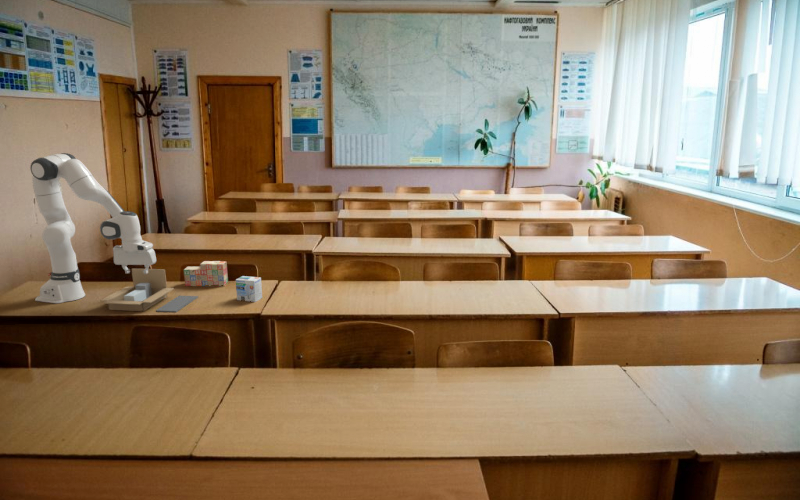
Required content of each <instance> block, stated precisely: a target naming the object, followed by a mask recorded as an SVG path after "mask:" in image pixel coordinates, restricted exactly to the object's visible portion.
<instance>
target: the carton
mask: <svg viewBox="0 0 800 500" xmlns="http://www.w3.org/2000/svg"><path fill="white" fill-rule="evenodd" d="M143 270H145V268H131V277H132V282H133V286H125V287H122V288H121V289H119V290H116V291H115V292H113V293H111V294H109V295H107V296H106V297H104V298H102V299H100V300H99V302H103V304H104V305H106V304H107V305H108V306H107V307H108V310H109V311H112V310H113V311H130V312H131V311H134V312H137V311H138V312H145V311H146V310H148V309H149V308H151V307H153V306H155V305H157V304H158V303H159V302H161V301H162V300H164V299H166V298H168V293H170V292H172V291H173V290H174V289H175V288H174V287H168V285H167V277H166V269H160V268H158V269H157V268H148V273H147V274H144V273H143ZM139 283H151V292H152V296H150V297H148V298H147V299H145V300H143V301H125V300H124V296H125V295H127V294H128V293H130V292H132V291H134V290H136V287H135V285H137V284H139Z"/></svg>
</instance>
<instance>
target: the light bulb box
mask: <svg viewBox="0 0 800 500" xmlns="http://www.w3.org/2000/svg"><path fill="white" fill-rule="evenodd" d="M235 287H236V288H235V290H236V292H235V293H236V300H237V301H241V300H245V301H244V302H250V301H251V302H252V303H256V302H258V301H260V300H261V298H262V299H263V289H262V288H263V287H262V277H258V276H247V275H246V276H245V275H242V276H240V277H238V278H236V279H235Z"/></svg>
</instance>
